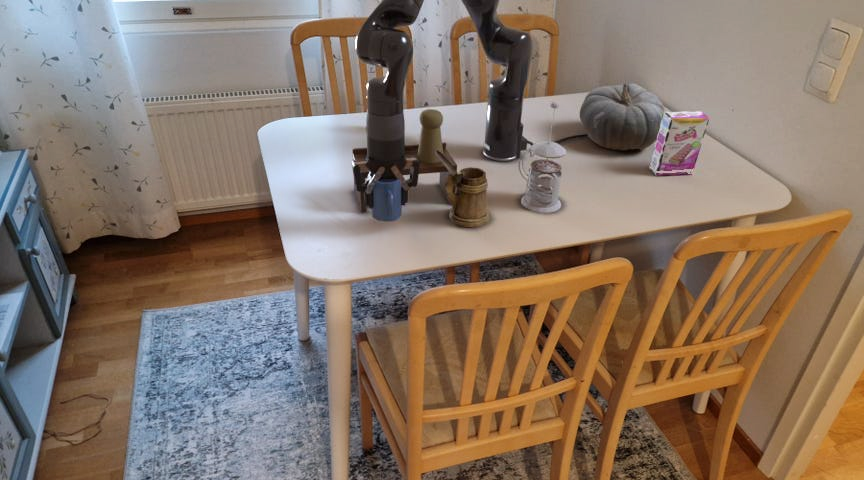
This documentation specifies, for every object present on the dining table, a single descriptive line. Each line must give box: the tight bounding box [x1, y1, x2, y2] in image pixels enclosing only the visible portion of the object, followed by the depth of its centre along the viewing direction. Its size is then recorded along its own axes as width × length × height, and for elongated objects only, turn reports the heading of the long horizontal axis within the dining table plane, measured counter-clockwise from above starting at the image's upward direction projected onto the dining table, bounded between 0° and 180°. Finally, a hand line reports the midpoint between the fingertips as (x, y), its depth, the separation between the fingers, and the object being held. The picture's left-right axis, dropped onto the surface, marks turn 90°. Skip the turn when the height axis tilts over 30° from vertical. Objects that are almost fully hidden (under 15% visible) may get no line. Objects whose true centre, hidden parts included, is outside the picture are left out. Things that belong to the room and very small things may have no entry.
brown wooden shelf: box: [351, 142, 458, 214], centre depth 146 cm, size 22×10×11 cm, turn 108°
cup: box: [370, 175, 403, 223], centre depth 133 cm, size 6×8×9 cm
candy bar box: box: [648, 110, 710, 177], centre depth 168 cm, size 11×5×16 cm, turn 104°
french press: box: [518, 101, 567, 214], centre depth 146 cm, size 10×12×25 cm
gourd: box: [579, 82, 665, 151], centre depth 183 cm, size 25×25×17 cm
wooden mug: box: [436, 150, 490, 228], centre depth 138 cm, size 9×14×18 cm, turn 120°
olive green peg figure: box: [417, 108, 444, 163], centre depth 143 cm, size 6×6×11 cm
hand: (386, 205), depth 135 cm, fingers closed on cup, 6 cm apart
